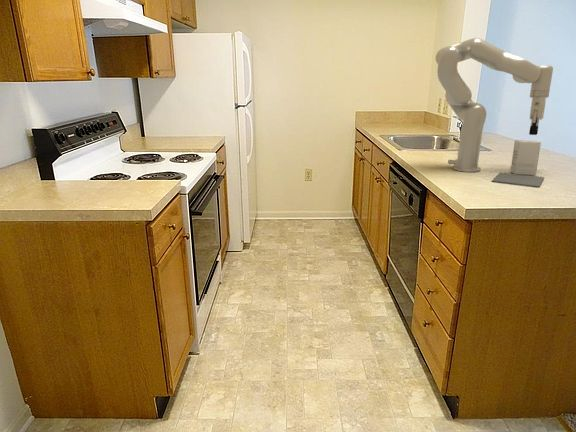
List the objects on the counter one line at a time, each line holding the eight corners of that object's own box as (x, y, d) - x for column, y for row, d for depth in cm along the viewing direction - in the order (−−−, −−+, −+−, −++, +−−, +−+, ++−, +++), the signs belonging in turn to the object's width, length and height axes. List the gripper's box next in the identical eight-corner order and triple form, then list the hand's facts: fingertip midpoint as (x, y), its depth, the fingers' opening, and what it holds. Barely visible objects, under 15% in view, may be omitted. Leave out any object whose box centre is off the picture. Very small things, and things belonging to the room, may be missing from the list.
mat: (491, 181, 179) (491, 180, 179) (499, 173, 194) (499, 172, 194) (539, 187, 169) (539, 186, 169) (543, 178, 184) (544, 177, 184)
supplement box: (530, 172, 196) (535, 140, 192) (536, 175, 187) (541, 141, 183) (509, 171, 198) (514, 139, 194) (514, 174, 189) (519, 141, 186)
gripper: (547, 95, 181) (540, 137, 187) (550, 93, 193) (543, 133, 198) (527, 95, 185) (521, 136, 191) (532, 93, 197) (526, 132, 203)
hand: (533, 134), depth 195 cm, fingers closed
